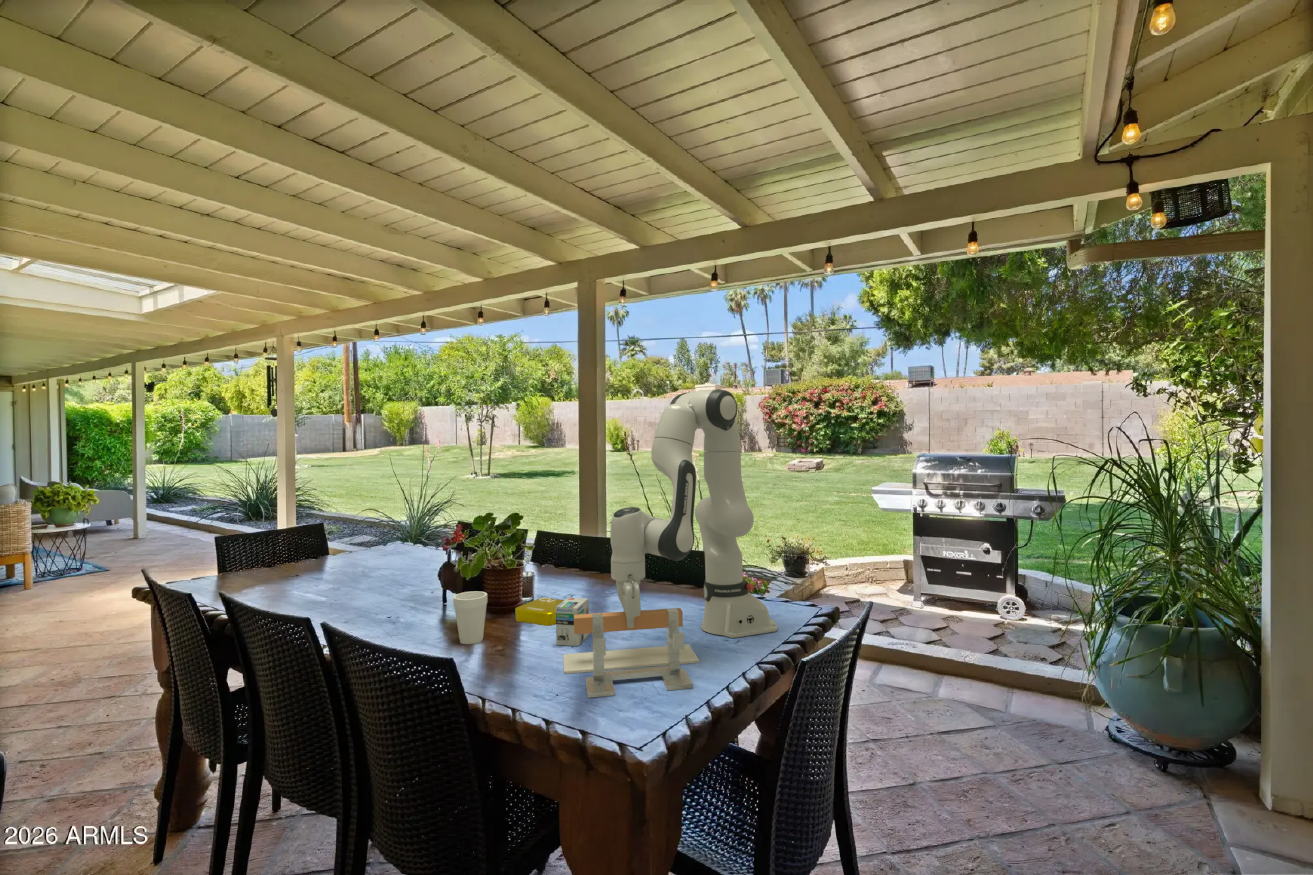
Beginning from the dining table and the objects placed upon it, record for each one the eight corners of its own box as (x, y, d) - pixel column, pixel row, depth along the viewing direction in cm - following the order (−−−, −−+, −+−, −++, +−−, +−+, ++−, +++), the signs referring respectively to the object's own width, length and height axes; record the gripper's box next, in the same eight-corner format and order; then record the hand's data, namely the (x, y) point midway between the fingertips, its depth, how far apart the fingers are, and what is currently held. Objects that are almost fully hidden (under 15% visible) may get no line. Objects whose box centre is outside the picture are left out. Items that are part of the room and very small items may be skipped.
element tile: (512, 621, 194) (512, 606, 194) (542, 609, 207) (542, 595, 207) (551, 627, 187) (550, 612, 187) (578, 614, 200) (578, 600, 200)
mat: (688, 646, 167) (688, 644, 167) (699, 662, 155) (699, 660, 155) (563, 656, 161) (563, 654, 161) (564, 674, 150) (564, 671, 150)
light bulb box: (578, 646, 169) (577, 608, 169) (555, 645, 170) (554, 607, 170) (590, 634, 179) (589, 597, 179) (568, 633, 181) (567, 596, 181)
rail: (680, 622, 162) (680, 607, 162) (682, 626, 159) (682, 611, 159) (574, 630, 157) (573, 614, 157) (574, 634, 154) (574, 618, 154)
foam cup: (494, 639, 176) (493, 594, 176) (465, 648, 169) (464, 601, 169) (477, 633, 182) (476, 589, 182) (448, 641, 176) (447, 596, 176)
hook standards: (684, 673, 149) (683, 607, 148) (693, 688, 140) (691, 618, 140) (585, 681, 145) (584, 614, 144) (587, 697, 136) (586, 626, 136)
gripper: (646, 579, 148) (647, 636, 148) (635, 562, 169) (635, 612, 169) (620, 581, 147) (621, 638, 147) (612, 563, 168) (613, 613, 168)
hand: (629, 624), depth 158 cm, fingers closed on rail, 3 cm apart
